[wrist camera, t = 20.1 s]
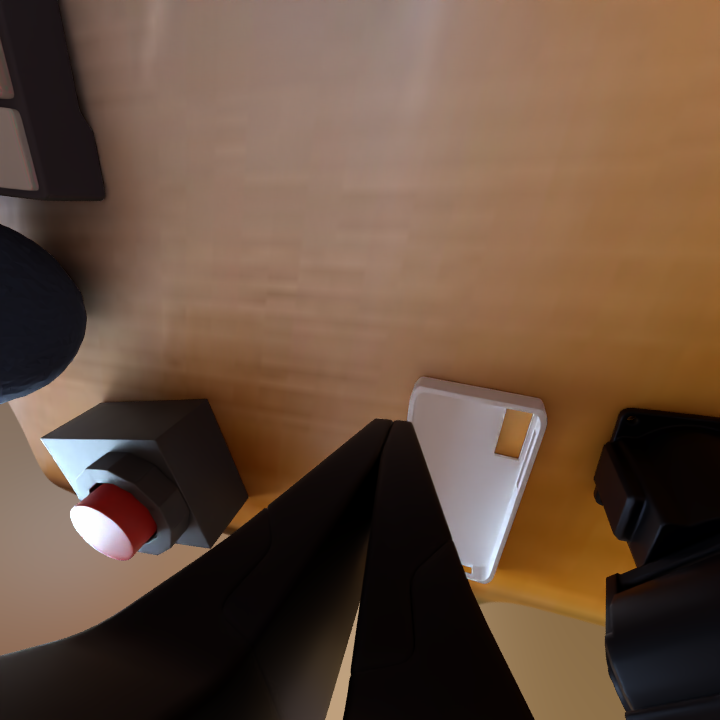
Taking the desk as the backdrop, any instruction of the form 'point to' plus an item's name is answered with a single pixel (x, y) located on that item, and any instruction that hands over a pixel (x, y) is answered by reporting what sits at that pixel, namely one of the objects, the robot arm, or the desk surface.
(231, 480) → the grey button base
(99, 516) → the red button
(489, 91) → the desk surface
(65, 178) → the calculator
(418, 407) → the phone case
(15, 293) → the decorative stone
